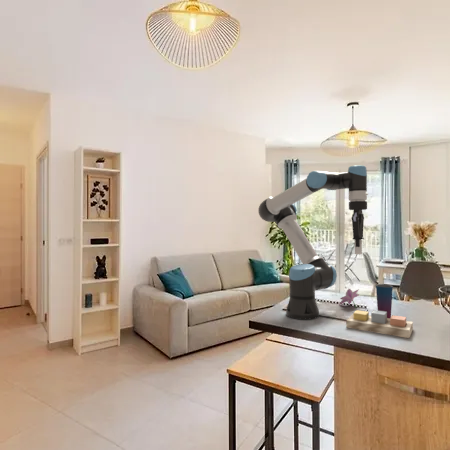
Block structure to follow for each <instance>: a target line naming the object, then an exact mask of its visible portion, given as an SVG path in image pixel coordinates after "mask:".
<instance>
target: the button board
mask: <svg viewBox="0 0 450 450" xmlns="http://www.w3.org/2000/svg"><path fill="white" fill-rule="evenodd" d="M345 325H346V327H345V328H348V329H353V330H354V329H355V330H360V331H365V332H371V333H377V334H382V335H388V336H389V335H390V336H394V337H399V338H400V337H401V338H405V339H407V338H408V339H410V338H411V336H412V333H413V330H414V321H409V320H406V327H401V326H395V325H390V318H387V322H386V324H382V323H375V322H371V315H369V319H368V320H367V321H363V320H356V319H354V317H353V314H351V315H350V316H349V317H347V319H346V324H345Z"/></svg>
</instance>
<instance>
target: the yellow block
mask: <svg viewBox="0 0 450 450" xmlns="http://www.w3.org/2000/svg"><path fill="white" fill-rule="evenodd" d="M369 316H370V313H369V311H366V310H365V311H364V310H357V309H356V310H355V311H354V312H353V317H354V319H356V320H363V321H367V320H368V319H369Z"/></svg>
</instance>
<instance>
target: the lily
mask: <svg viewBox="0 0 450 450" xmlns="http://www.w3.org/2000/svg"><path fill="white" fill-rule="evenodd" d="M359 290H360V289H359V288H358V289H355V290H354V291H353V290H352V289H351V288H348V289H346V292H345V295H344V296H342V297H340V300H341V301H340V302H339V304H338V305H339V306H341V305H342V304H344V303H347V304H349V305H351V304H350V303H353V304H354V307H355V308H357V305H356V303H355V301H354V298H357V297H359V296H360V294H358V292H359ZM340 304H341V305H340Z"/></svg>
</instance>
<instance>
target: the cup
mask: <svg viewBox="0 0 450 450" xmlns="http://www.w3.org/2000/svg"><path fill="white" fill-rule="evenodd" d="M393 287H394V286H393V285H391V284H384V283H379V284H378V283H377V284H376V285H375V291H376V293H375V294H376V304H377V305H376V307H377V310H378V311H385V312H387V318H391V316H392V308H393V307H392V305H393Z"/></svg>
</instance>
